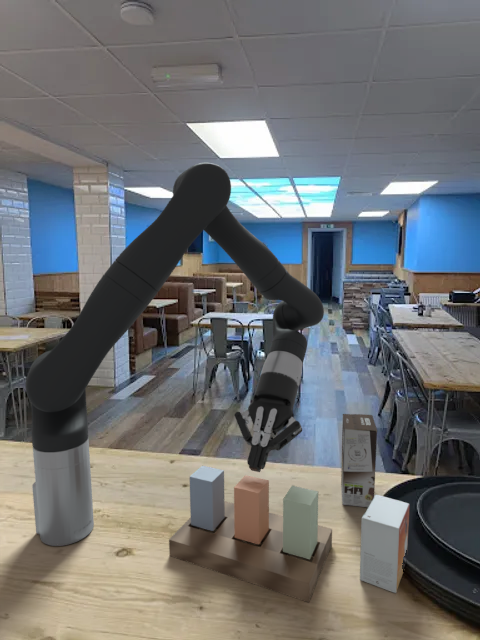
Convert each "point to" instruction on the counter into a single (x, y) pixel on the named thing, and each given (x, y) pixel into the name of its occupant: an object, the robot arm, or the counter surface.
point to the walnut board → (252, 555)
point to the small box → (384, 542)
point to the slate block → (207, 497)
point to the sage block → (300, 521)
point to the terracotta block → (251, 509)
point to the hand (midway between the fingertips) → (254, 469)
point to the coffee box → (358, 459)
